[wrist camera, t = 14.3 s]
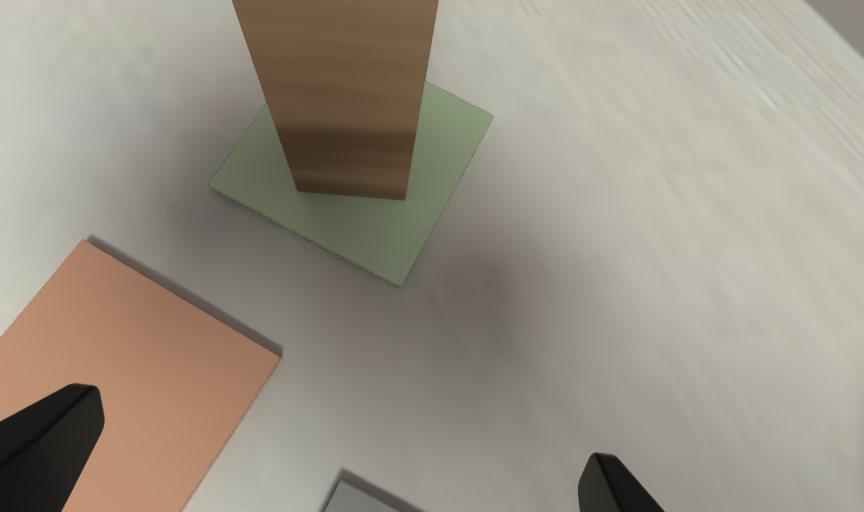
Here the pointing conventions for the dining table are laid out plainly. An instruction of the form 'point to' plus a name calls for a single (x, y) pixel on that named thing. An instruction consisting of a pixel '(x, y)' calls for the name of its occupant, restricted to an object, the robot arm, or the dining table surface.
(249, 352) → the terracotta tile
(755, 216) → the dining table surface
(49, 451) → the robot arm
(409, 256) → the sage green tile
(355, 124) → the walnut block
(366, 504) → the slate grey tile
